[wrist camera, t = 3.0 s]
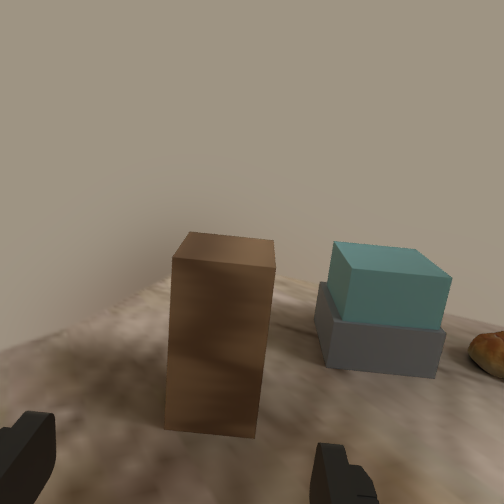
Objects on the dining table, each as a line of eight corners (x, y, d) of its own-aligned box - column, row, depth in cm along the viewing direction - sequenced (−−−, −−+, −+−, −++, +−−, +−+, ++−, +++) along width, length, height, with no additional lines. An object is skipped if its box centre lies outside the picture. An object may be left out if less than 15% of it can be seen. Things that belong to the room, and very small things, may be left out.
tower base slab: (400, 331, 39) (409, 290, 37) (433, 382, 31) (446, 333, 30) (313, 322, 39) (319, 281, 37) (325, 371, 31) (333, 321, 30)
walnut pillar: (256, 384, 28) (273, 240, 25) (254, 438, 23) (276, 267, 20) (181, 377, 28) (189, 231, 25) (164, 429, 23) (172, 257, 20)
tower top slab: (405, 292, 37) (415, 249, 36) (439, 330, 30) (452, 277, 29) (326, 285, 37) (333, 241, 36) (342, 321, 30) (352, 268, 29)
